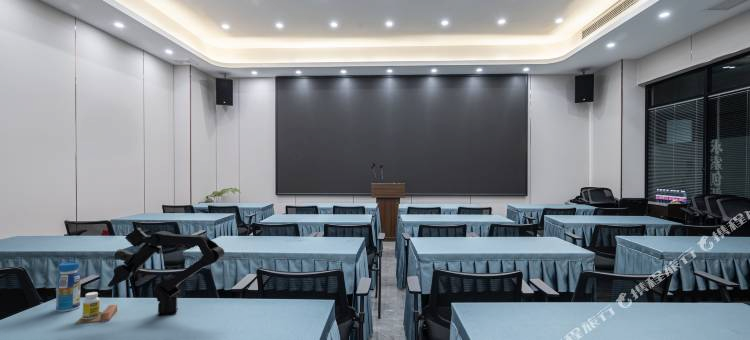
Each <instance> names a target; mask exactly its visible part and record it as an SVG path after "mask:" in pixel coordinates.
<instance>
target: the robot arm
mask: <svg viewBox="0 0 750 340" xmlns="http://www.w3.org/2000/svg"><path fill="white" fill-rule="evenodd" d="M124 239H126V240H127V242H128V243H129V244H130V245H132V247H133V248H135V249H136V248H138V250H137V251H135V252H131V251H129V250H125V249H121V248H119V249H117V250H116V251H115V253H114V254H113V259H115V260H120V261H123V264H122V263H121V264H119V265H117V266H116V267H115V268H113V273H114V275H113V277H112V278H111V280H110V282H108V284H107V287H109V288H111V287H113V286H115V285H117V284H120V283H121V282H124V281H127V280H128V279H129V278H130V277H131V276H133V274H136V273H137V272H139V271H140V270H141V269H142V268H143V267H144V265H145V263H146V262H147V261H149V260H150V259H151V258H152V257H153V256H154V255H155V254H157V255H160V254H163V247H162V246H167V245H184V246H186V245H187V246H197V247H199V250H200V253H201V254H202V256H201V257H200V258H199V259H198V260H197V261H196V262H194V263H192V264H191V265H189V266H188V267H187V268H185V269H184V270H182V271H181V272H179V273H177V274H175V276H173V274H170V275H167V276H166V277H164V278H163V279H161V280H159V281H158V282H156V283H155V284H156V285H154V287H153V293H154V295H155V297H156V300H157V302H158V304H157V305H158V306H157V313H158V316H159V317H161V316H172V315H176V314H177V312H178V309H179V308H178V296H180V295H181V294H180V293H181V289H180V287H179V285H180V284H181V283H182V282H184V281H185V280H186V279H189V277H191V276H193V275H194V274H196V273H197V272H199V271H200V270H202V269H203V268H205V267H207V266H210V265H212V264H214V263H216V262H218V261H220V260H222V259H223V258H224V257H225V254H226V253H225V250H224V248H223V247H221V246H220V245H218V244H217V243H216V242H215V241H213V240H212V239H210V237H209V236H207V235H206V234H202V235H201V234H200V235H198V234H197V235H196V234H175V233H174V232H170V231H166V230H161V231H157V232H153V233H151V234H149V235H148V234H146V233H145V232H144V230H143V229H142V228H141V227H136V228H135V229H134V230H132V231H130V233H128V234H126V236H125V238H124ZM178 287H179V288H178Z"/></svg>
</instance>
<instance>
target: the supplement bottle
mask: <svg viewBox="0 0 750 340" xmlns="http://www.w3.org/2000/svg"><path fill="white" fill-rule="evenodd" d="M98 295H99V293H98V292H97V291H92V292H87V293H85V299H84V300H83V302H82V316H83V319H93V318H96V317H98V316H99V312H100V302H101V300H100V298H99V297H98Z"/></svg>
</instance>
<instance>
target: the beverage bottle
mask: <svg viewBox="0 0 750 340" xmlns="http://www.w3.org/2000/svg"><path fill="white" fill-rule="evenodd" d="M79 266H80V263H79V262H78V261H67V262H61V263H60V264H58V272H59V274H58V275H57V277H56V280H55V281H56V282H57V283H56V285H55V289H56V290H55V291H56V294H55V295H56V299H55V300H56V303H55V311H56V312H61V313H62V312H63V313H64V312H70V311H73V310H74V311H75V310H76V309H78V308H80V307H81V285H82V282H81V274H80V273H79V268H80V267H79Z"/></svg>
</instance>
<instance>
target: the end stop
mask: <svg viewBox="0 0 750 340" xmlns="http://www.w3.org/2000/svg"><path fill="white" fill-rule="evenodd" d="M117 312H118V304H109V305H108V306H107V307H106V308H105V309H103V311H99V316H98V317H96V318H93V319H83V315H82V316H81V317H80V318H79V319H78V320H76V321H75V322H74V325H80V324H88V323H100V322H109V321H111V319H112V318H113V317H114V316H115V315H116V313H117Z"/></svg>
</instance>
